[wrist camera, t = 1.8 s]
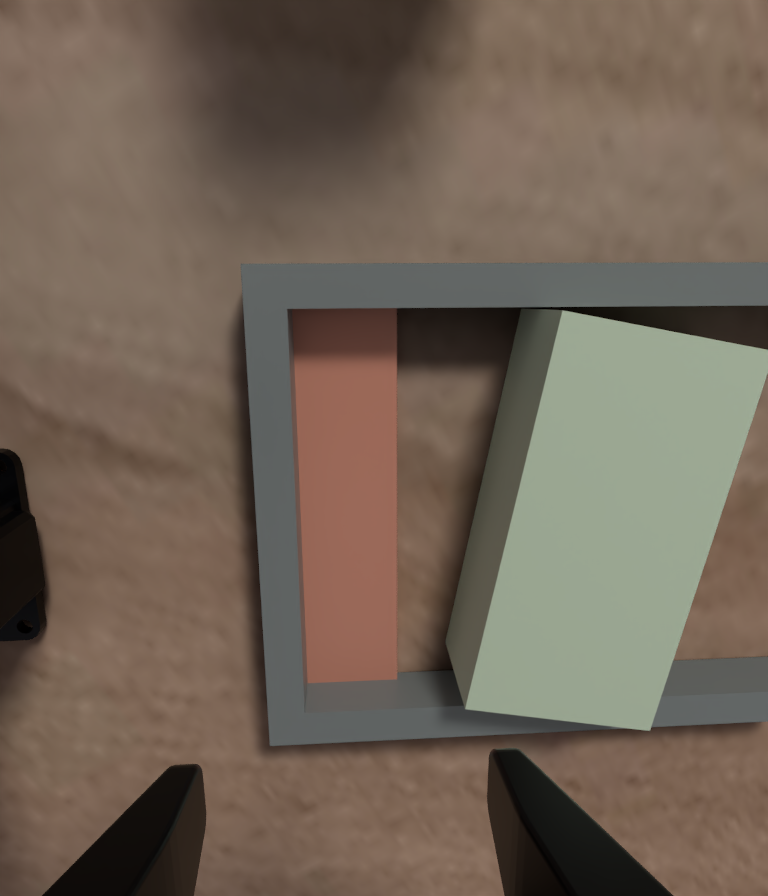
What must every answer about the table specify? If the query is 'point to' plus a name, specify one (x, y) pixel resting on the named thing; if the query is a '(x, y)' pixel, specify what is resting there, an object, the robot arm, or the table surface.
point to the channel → (375, 488)
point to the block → (596, 515)
